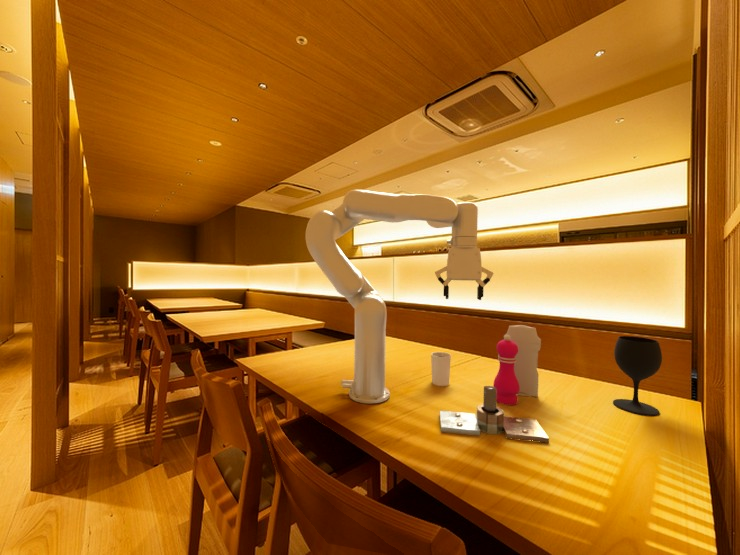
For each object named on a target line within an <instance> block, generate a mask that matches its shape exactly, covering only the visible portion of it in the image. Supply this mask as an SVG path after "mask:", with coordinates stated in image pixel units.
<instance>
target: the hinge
mask: <svg viewBox="0 0 740 555" xmlns="http://www.w3.org/2000/svg"><path fill="white" fill-rule="evenodd" d="M439 422H440V423H439V424H440V433H449V434H456V435H457V434H459V435H468V436H476V437H477V436H478V437H480V436H481V432H482V433H485V434H489V435H500V434H502V433H505V434H504V435H506V436H505V438H506V437H507V438H512V439H511V440H514V439H520V440H519V441H524V440H531V441H530V442H533V441H540V442H539V443H542V442H547V443H546V444H550V438H549V436H548V434H547V433H546V432H545V430H544V429H543V427H542V426H541V424H539V422H538V421H537V419H534V418H525V417H514V416H505V412H504V410H503V409H502V408H501V407H499V406H497V405H496V413H487V412H485V411H483V403H482V404H479V405H477V406H476V414H475V413H472V412H471V413H469V412H461V411H449V410H439ZM507 438H506V439H507ZM532 440H533V441H532Z"/></svg>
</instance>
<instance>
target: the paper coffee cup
mask: <svg viewBox="0 0 740 555" xmlns="http://www.w3.org/2000/svg"><path fill="white" fill-rule="evenodd" d="M430 355H431V359H430V360H431V383H432V385H434V386H437V387H447V386H449V385H450V376H451V375H450V374H451V362H452V361H451V359H452V354H450V352H445V351H433V352H431V353H430Z"/></svg>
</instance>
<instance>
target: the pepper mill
mask: <svg viewBox="0 0 740 555" xmlns="http://www.w3.org/2000/svg"><path fill="white" fill-rule="evenodd" d="M504 335H505V334H504ZM504 339H505V340H504ZM510 339H511V337H510V336H509V335H505V337H504V336H503V339H502V340H500V341H498V343H497V344H496V347H495V348H496V352H497V354H498V355H497V357H498V358H497V360H498V361H499V368H498V371H497V374H496V375H495V378H494V380H493V387H495V388H497V400H496V403H497V402H498V404H500V405H501V404H502V405H506V406H513V405H517V404H518V395H517V393H518V392H519V390H520V388H519V382H518V380H517V378H516V376H515V372H514V363H515V362H516V357H515V356H516V355H517V353H518V346H517V344H516V343H515V342H513V341H511V340H510Z"/></svg>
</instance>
